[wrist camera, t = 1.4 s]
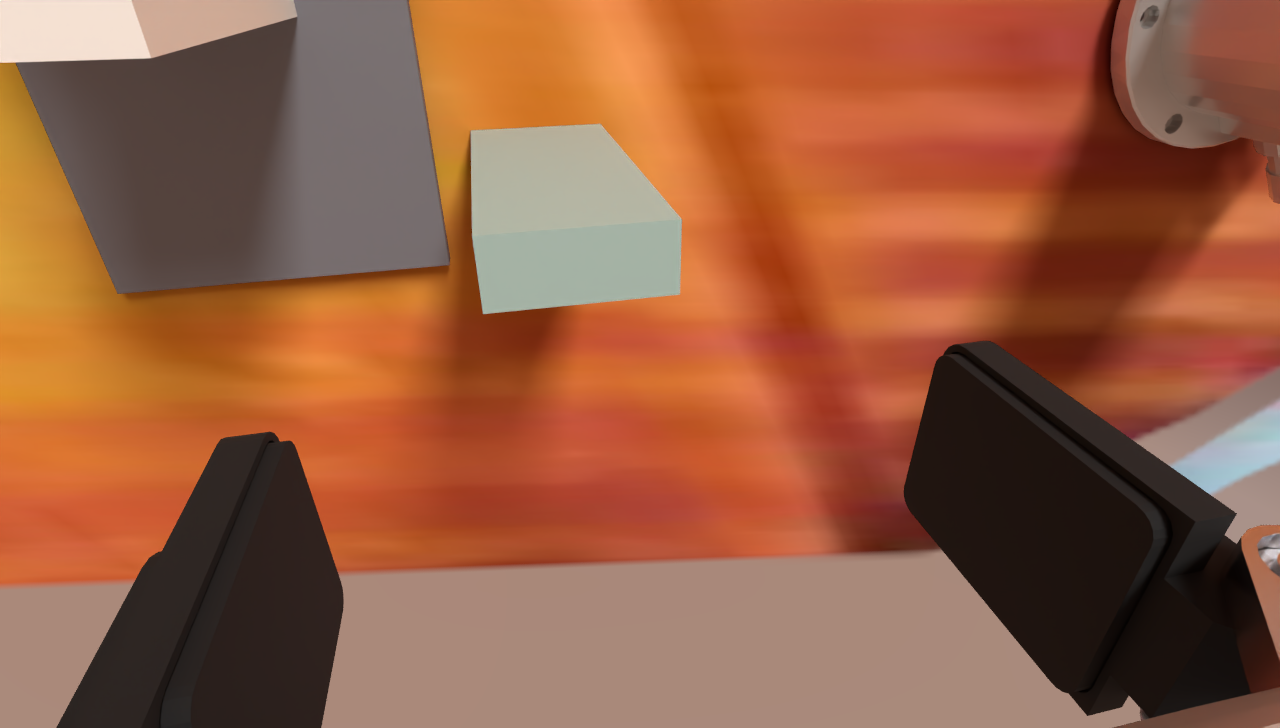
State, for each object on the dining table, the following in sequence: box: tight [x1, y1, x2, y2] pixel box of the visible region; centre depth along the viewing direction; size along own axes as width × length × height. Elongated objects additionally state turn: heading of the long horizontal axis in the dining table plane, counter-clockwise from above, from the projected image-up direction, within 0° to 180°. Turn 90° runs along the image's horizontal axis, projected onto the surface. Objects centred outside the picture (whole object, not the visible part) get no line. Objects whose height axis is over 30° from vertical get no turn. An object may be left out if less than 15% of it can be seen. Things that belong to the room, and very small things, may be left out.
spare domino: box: [471, 124, 682, 314], centre depth 21 cm, size 2×5×12 cm, turn 91°
